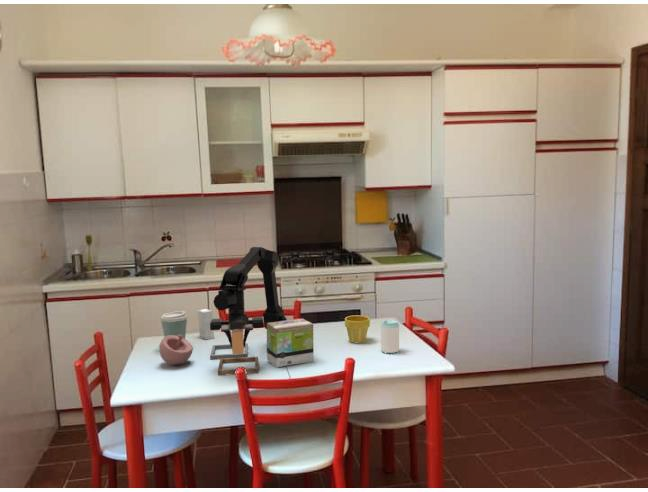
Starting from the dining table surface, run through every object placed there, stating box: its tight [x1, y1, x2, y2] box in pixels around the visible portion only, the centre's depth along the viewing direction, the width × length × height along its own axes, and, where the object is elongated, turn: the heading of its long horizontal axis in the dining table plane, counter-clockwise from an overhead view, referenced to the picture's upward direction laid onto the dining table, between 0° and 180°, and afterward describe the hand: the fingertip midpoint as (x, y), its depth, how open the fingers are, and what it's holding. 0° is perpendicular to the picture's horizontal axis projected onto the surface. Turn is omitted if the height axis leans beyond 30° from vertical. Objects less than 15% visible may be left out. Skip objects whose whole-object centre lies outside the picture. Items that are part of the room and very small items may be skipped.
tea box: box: [266, 318, 314, 368], centre depth 215 cm, size 15×10×15 cm
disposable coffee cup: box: [160, 310, 188, 339], centre depth 233 cm, size 11×11×15 cm
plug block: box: [231, 328, 245, 354], centre depth 209 cm, size 4×4×8 cm
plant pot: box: [344, 314, 371, 343], centre depth 239 cm, size 10×10×10 cm
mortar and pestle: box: [158, 334, 194, 366], centre depth 214 cm, size 12×12×12 cm
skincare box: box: [197, 308, 215, 340], centre depth 249 cm, size 6×4×12 cm
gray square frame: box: [209, 343, 249, 361], centre depth 227 cm, size 14×14×2 cm
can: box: [380, 319, 400, 354], centre depth 224 cm, size 7×7×12 cm
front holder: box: [217, 356, 259, 376], centre depth 210 cm, size 14×14×2 cm
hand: (238, 346), depth 209 cm, fingers closed on plug block, 4 cm apart
